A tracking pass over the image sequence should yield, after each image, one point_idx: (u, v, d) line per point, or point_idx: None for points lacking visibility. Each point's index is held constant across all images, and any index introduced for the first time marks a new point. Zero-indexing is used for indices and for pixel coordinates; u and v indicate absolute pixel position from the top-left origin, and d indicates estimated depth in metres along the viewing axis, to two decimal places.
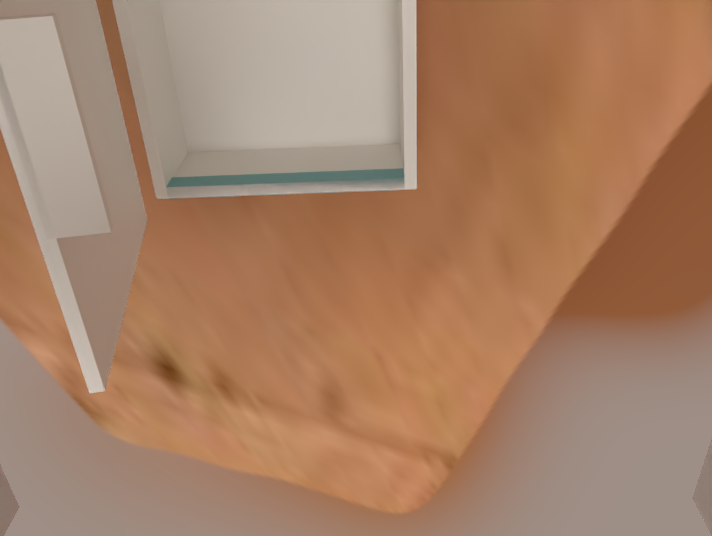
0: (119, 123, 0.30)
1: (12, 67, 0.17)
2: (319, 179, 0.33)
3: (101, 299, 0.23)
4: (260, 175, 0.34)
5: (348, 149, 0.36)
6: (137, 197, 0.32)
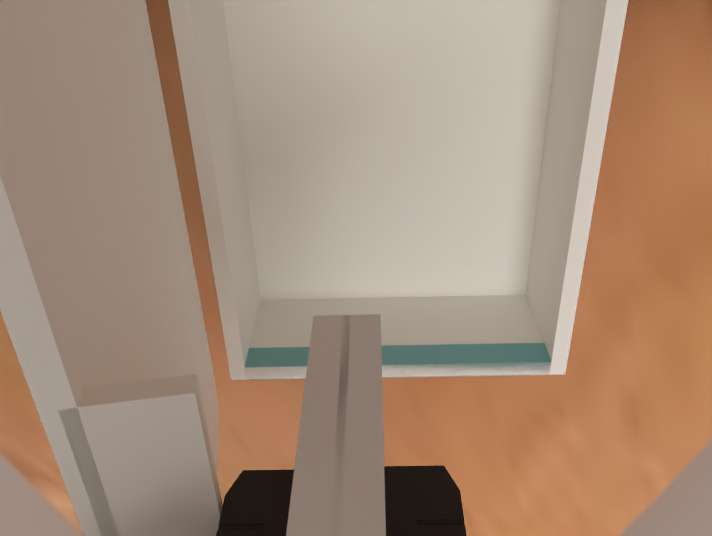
0: (196, 310, 0.22)
1: (115, 464, 0.10)
2: (441, 359, 0.26)
3: None
4: None
5: (462, 302, 0.29)
6: (212, 391, 0.24)
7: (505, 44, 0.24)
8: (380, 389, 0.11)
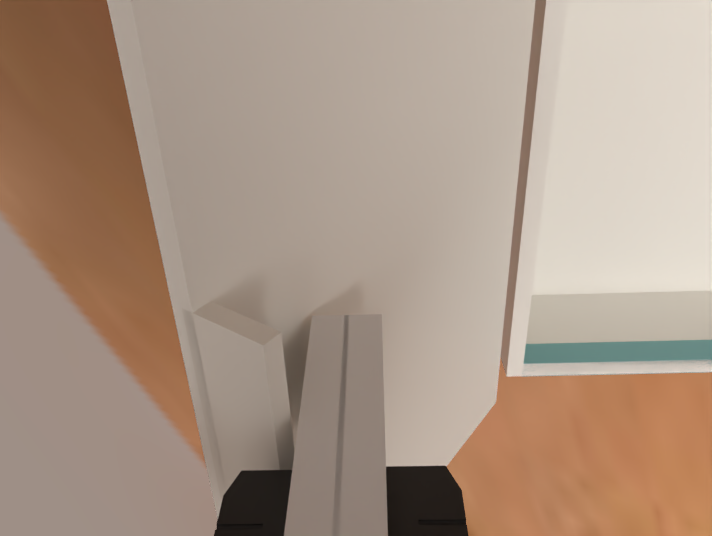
0: (492, 301, 0.22)
1: (213, 373, 0.11)
2: None
3: None
4: (634, 344, 0.26)
5: (711, 297, 0.29)
6: (485, 384, 0.24)
7: None
8: (382, 389, 0.11)
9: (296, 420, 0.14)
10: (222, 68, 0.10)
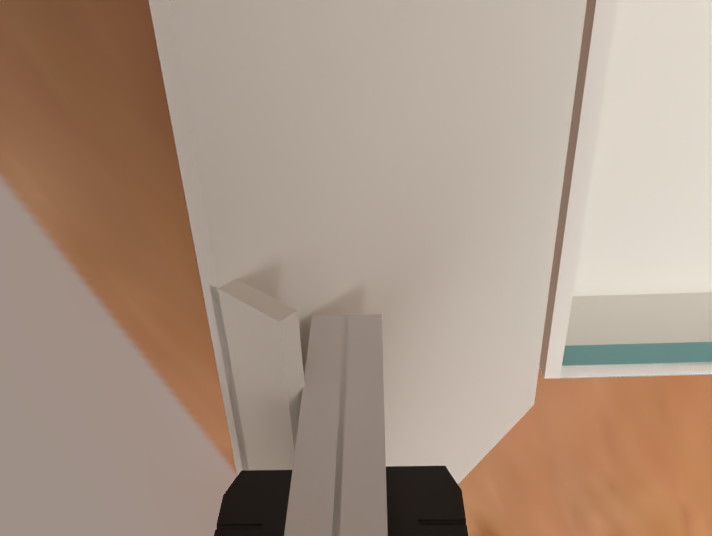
0: (532, 302, 0.22)
1: (236, 347, 0.12)
2: None
3: None
4: (672, 345, 0.26)
5: None
6: (523, 385, 0.24)
7: None
8: (381, 389, 0.11)
9: None
10: (254, 58, 0.10)
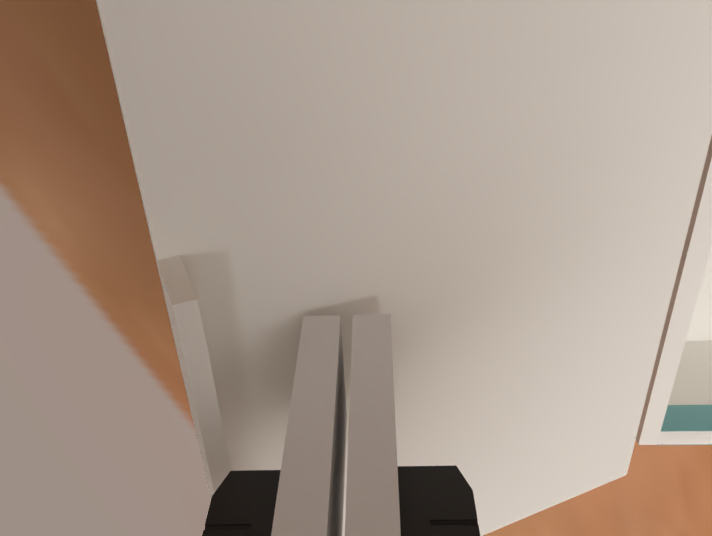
0: (627, 358, 0.19)
1: (171, 320, 0.12)
2: None
3: None
4: None
5: None
6: (608, 449, 0.21)
7: None
8: (392, 389, 0.11)
9: (290, 396, 0.14)
10: (200, 41, 0.10)
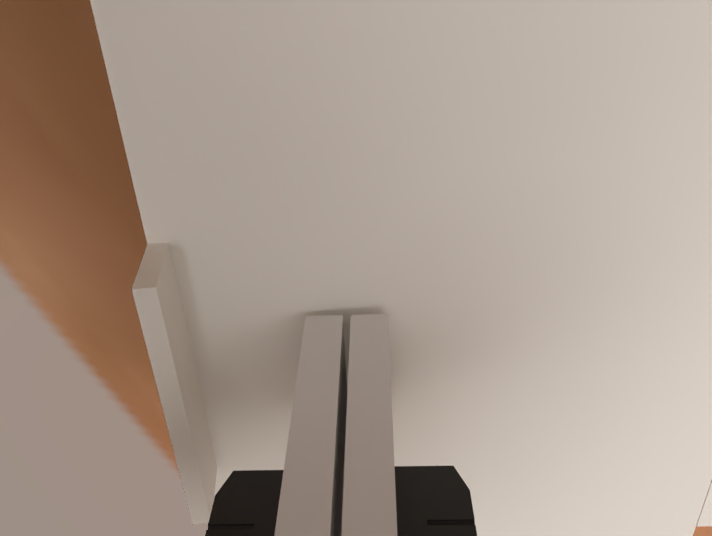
0: (686, 431, 0.17)
1: None
2: None
3: None
4: None
5: None
6: (659, 526, 0.18)
7: None
8: (389, 389, 0.11)
9: (281, 395, 0.15)
10: (187, 41, 0.11)
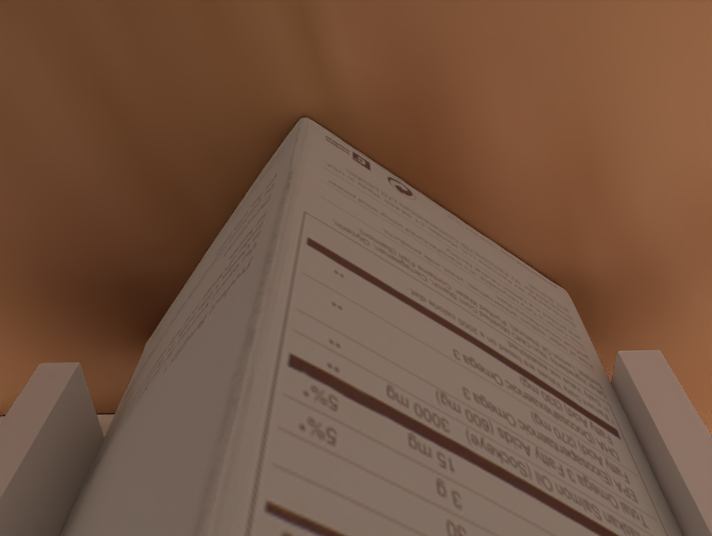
0: None
1: None
2: None
3: None
4: None
5: None
6: None
7: None
8: None
9: None
10: None
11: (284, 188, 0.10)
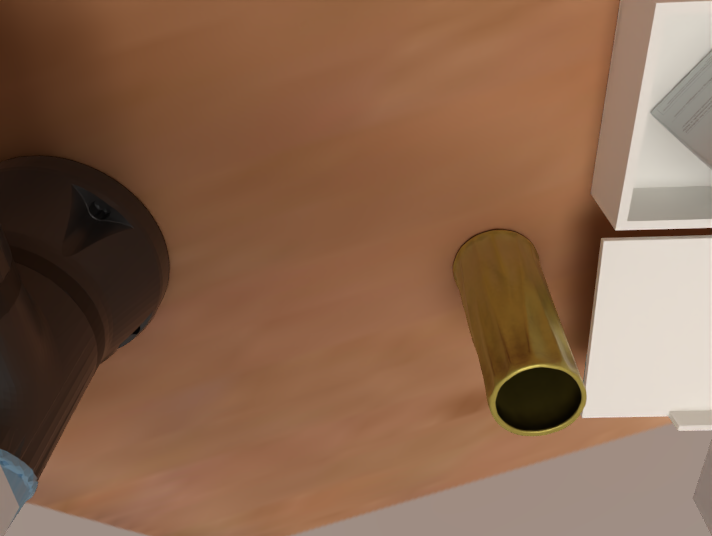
0: None
1: None
2: None
3: None
4: None
5: None
6: None
7: (698, 29, 0.39)
8: None
9: None
10: (617, 400, 0.45)
11: None
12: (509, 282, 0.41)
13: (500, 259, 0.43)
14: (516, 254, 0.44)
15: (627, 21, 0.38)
